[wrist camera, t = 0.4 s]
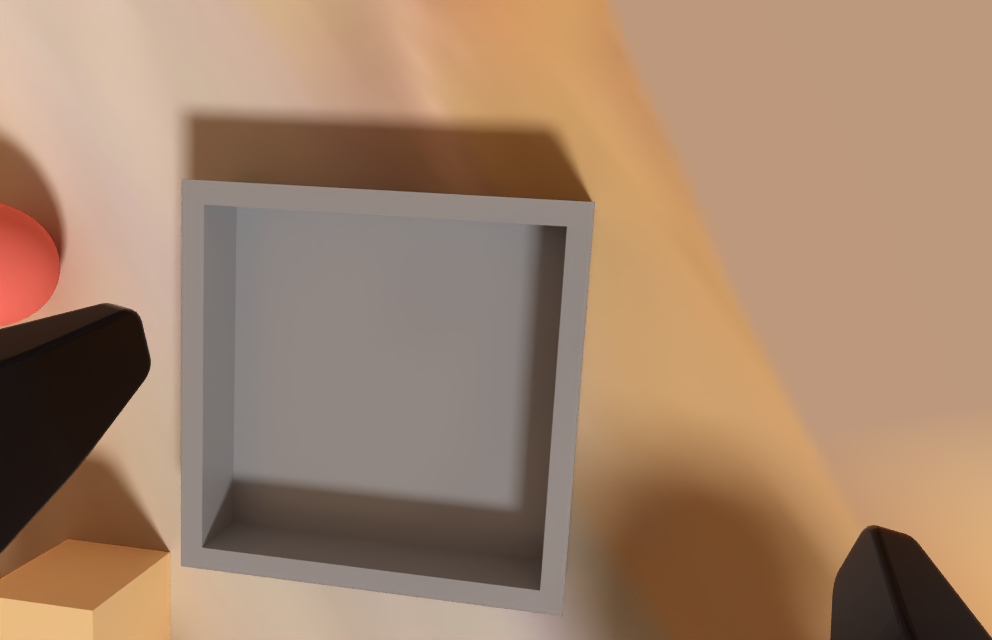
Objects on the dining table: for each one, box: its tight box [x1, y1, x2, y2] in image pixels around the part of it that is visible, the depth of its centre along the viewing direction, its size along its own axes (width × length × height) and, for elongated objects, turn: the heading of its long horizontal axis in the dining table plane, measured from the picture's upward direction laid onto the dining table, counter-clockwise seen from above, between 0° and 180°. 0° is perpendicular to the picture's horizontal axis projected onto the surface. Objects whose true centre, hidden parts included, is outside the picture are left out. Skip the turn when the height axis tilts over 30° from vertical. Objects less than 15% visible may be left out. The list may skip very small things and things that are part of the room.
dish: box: [181, 179, 595, 616], centre depth 22 cm, size 12×12×2 cm
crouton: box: [0, 539, 170, 640], centre depth 23 cm, size 4×4×4 cm
